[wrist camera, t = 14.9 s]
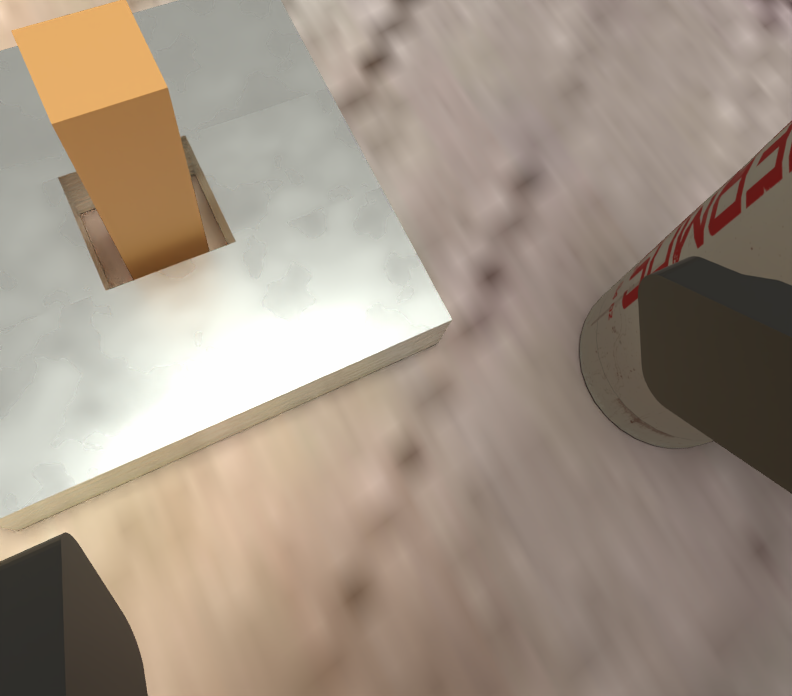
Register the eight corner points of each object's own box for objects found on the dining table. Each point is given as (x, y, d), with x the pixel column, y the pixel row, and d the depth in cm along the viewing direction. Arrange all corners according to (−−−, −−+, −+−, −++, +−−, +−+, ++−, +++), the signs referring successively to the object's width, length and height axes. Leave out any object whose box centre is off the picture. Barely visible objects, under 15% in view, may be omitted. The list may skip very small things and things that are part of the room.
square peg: (184, 204, 32) (125, -2, 21) (213, 265, 31) (167, 87, 20) (113, 230, 31) (11, 30, 20) (141, 293, 31) (51, 124, 19)
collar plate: (269, 23, 36) (267, -25, 33) (437, 343, 32) (452, 319, 29) (-123, 141, 31) (-165, 97, 28) (17, 531, 27) (-15, 524, 24)
